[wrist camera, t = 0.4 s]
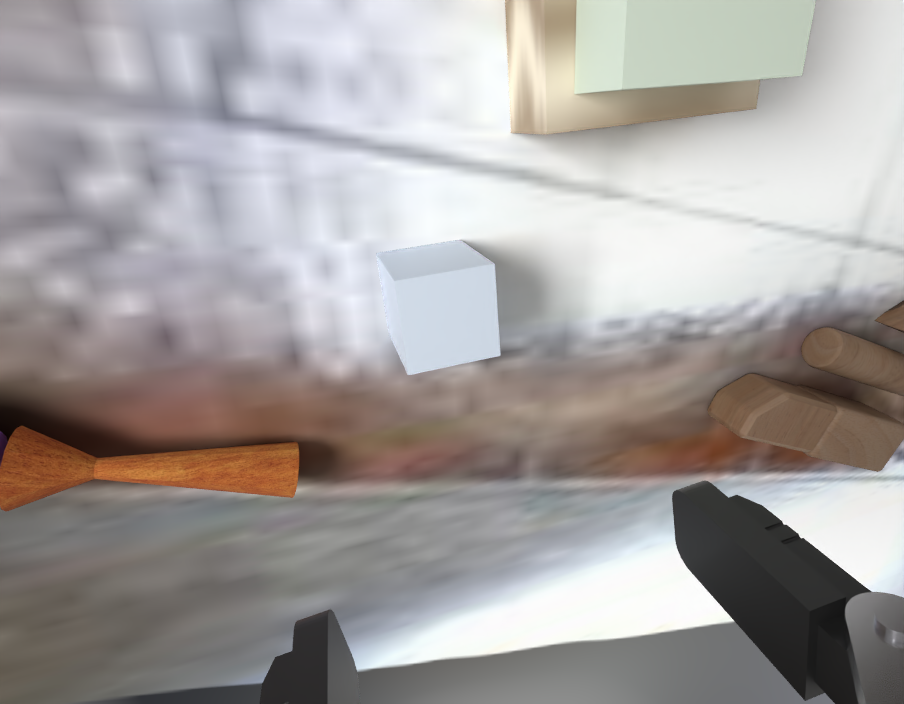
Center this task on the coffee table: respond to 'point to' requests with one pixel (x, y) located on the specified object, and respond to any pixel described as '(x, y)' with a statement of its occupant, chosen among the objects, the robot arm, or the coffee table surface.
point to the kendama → (141, 468)
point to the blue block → (440, 305)
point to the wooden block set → (822, 401)
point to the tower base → (560, 110)
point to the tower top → (688, 42)
